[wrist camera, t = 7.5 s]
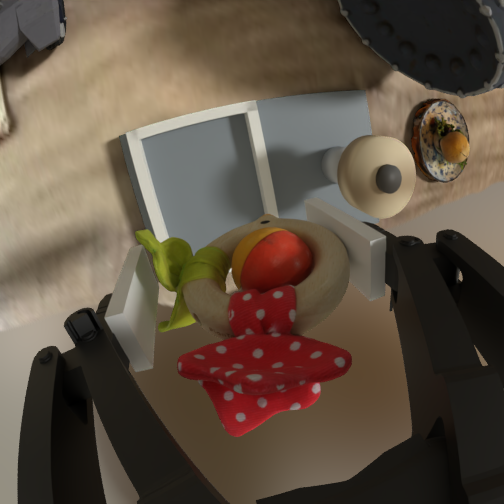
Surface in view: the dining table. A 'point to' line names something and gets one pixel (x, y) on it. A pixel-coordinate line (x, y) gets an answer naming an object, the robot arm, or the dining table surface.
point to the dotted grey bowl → (435, 40)
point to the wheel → (376, 175)
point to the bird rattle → (257, 314)
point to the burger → (440, 140)
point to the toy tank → (30, 26)
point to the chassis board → (243, 163)
